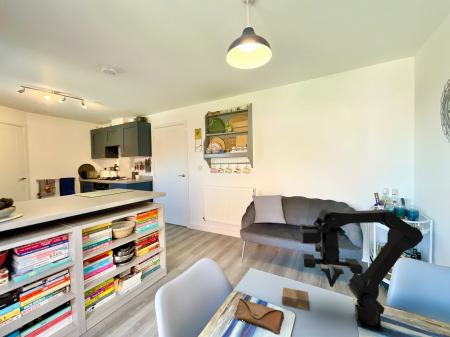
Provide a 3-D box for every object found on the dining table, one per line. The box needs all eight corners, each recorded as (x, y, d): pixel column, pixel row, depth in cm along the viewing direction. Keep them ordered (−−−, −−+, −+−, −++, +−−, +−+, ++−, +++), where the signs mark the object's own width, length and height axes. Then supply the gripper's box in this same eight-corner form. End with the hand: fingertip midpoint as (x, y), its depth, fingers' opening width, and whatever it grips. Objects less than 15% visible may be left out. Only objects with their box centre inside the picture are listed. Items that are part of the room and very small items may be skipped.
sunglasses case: (231, 319, 71) (234, 298, 74) (237, 317, 76) (239, 297, 79) (281, 335, 63) (282, 311, 66) (283, 332, 69) (284, 310, 72)
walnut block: (307, 291, 80) (282, 287, 83) (309, 301, 74) (282, 295, 78) (308, 301, 80) (283, 296, 83) (309, 311, 74) (282, 305, 78)
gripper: (352, 238, 75) (353, 278, 75) (301, 234, 81) (302, 271, 81) (362, 250, 64) (364, 296, 64) (303, 244, 70) (304, 287, 70)
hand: (331, 286), depth 70 cm, fingers closed
